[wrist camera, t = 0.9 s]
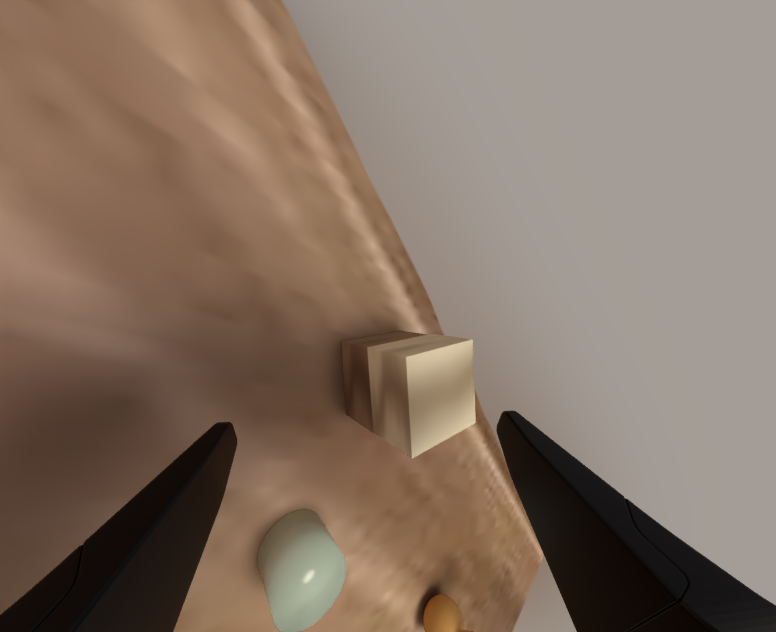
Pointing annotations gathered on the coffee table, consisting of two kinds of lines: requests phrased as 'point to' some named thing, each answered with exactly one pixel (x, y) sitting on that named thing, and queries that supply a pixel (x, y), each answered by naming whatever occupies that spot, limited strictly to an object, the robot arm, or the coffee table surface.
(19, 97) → the coffee table surface
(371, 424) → the walnut block
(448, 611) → the figurine
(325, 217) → the coffee table surface
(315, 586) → the stubby sage cylinder
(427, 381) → the birch block
